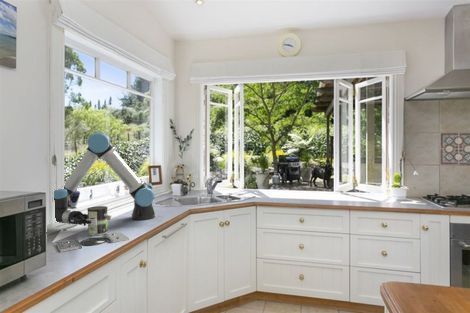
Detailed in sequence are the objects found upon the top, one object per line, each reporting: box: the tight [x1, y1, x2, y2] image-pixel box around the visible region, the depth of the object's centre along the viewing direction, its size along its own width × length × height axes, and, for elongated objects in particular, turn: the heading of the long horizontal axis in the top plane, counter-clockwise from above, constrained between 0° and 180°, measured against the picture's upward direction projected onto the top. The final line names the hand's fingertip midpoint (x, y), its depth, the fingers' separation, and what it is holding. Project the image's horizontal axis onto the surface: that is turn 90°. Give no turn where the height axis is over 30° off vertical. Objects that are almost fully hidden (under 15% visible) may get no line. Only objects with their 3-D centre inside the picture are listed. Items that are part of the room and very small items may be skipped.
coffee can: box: [86, 205, 109, 236], centre depth 174 cm, size 10×10×14 cm
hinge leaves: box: [55, 231, 130, 253], centre depth 158 cm, size 31×14×1 cm, turn 127°
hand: (103, 220), depth 172 cm, fingers closed on coffee can, 10 cm apart
